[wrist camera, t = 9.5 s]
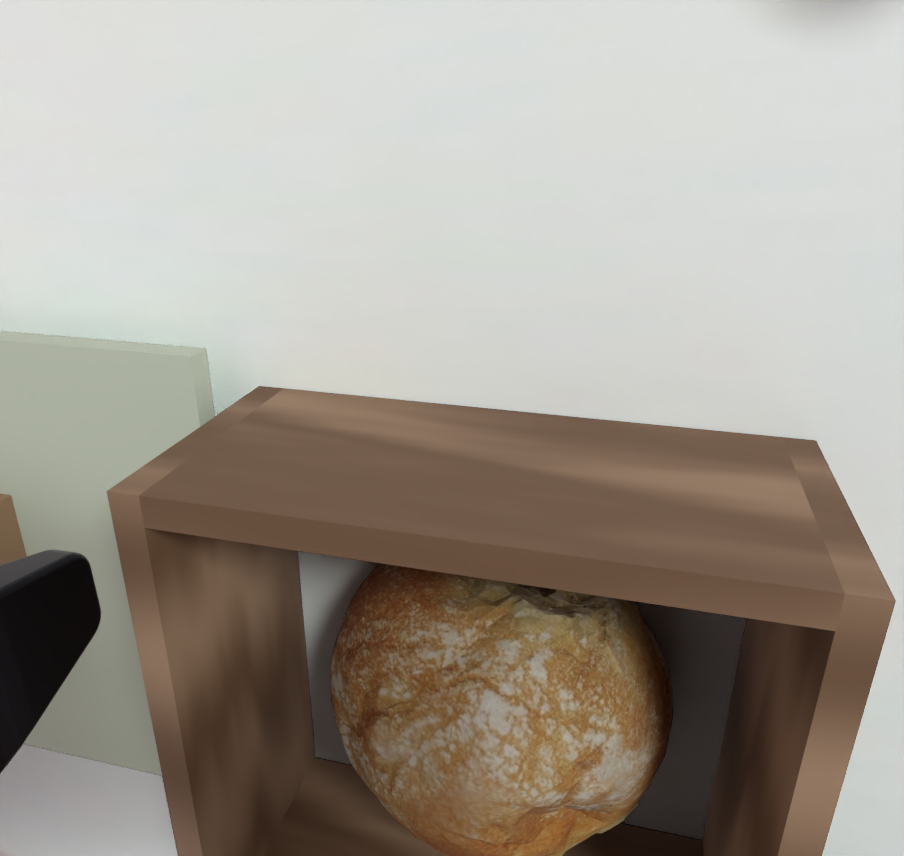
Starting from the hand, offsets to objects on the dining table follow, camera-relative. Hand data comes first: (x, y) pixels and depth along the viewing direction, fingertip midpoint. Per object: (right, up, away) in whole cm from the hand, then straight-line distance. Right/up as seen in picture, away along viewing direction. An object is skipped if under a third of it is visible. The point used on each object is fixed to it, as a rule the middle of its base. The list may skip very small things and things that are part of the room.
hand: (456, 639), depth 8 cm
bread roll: (+2, -5, +17) cm, 18 cm away
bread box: (+2, -4, +16) cm, 17 cm away
